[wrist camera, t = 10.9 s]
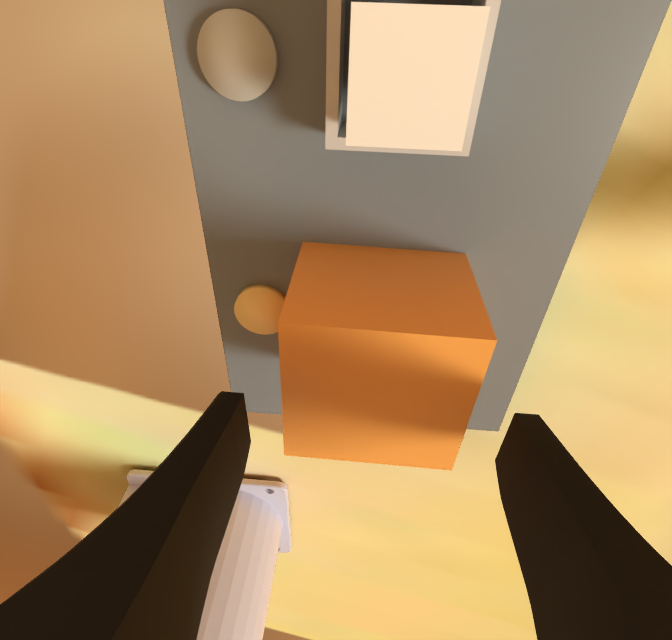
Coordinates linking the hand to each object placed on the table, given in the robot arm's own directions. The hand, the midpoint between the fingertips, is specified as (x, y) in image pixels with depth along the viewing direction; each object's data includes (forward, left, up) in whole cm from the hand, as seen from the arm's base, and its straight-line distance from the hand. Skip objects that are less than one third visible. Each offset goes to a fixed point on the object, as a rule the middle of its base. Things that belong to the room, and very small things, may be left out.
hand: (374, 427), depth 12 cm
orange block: (0, 0, -5) cm, 5 cm away
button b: (0, +8, -4) cm, 9 cm away
